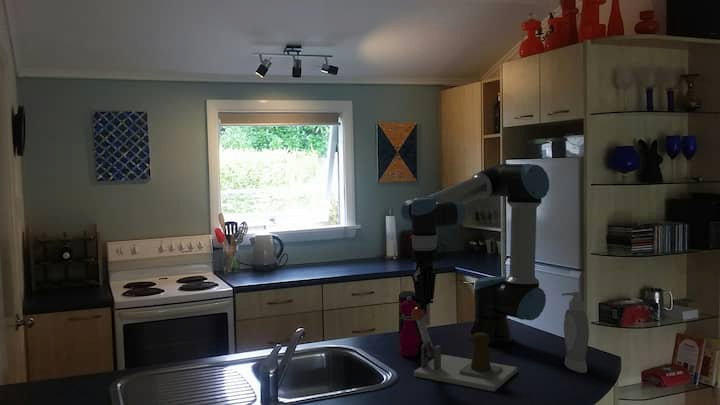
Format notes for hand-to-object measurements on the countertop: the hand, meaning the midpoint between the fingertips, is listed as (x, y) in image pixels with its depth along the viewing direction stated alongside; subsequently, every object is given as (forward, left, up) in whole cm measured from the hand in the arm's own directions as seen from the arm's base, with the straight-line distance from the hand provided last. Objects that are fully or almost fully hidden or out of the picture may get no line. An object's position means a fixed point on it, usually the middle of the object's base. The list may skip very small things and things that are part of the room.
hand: (425, 324), depth 199 cm
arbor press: (-8, +9, -16) cm, 20 cm away
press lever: (-5, 0, -11) cm, 12 cm away
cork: (-8, +15, -14) cm, 22 cm away
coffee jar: (-30, -21, -16) cm, 40 cm away
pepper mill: (-18, -15, -16) cm, 29 cm away
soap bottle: (-30, +37, -16) cm, 50 cm away
